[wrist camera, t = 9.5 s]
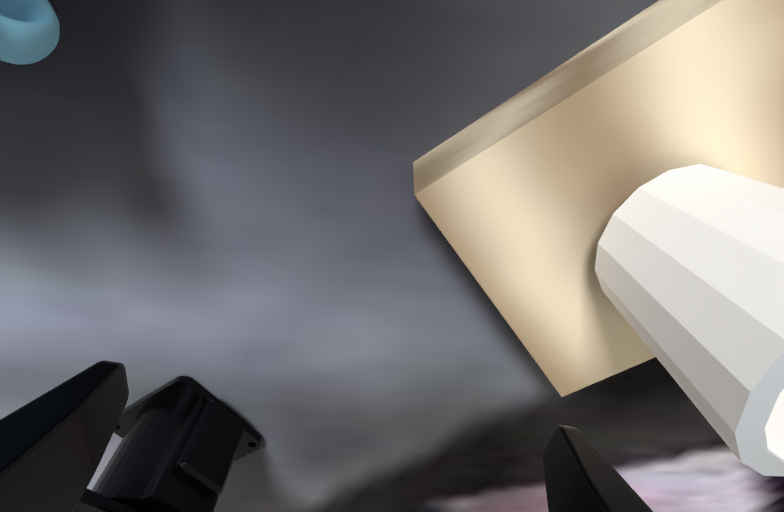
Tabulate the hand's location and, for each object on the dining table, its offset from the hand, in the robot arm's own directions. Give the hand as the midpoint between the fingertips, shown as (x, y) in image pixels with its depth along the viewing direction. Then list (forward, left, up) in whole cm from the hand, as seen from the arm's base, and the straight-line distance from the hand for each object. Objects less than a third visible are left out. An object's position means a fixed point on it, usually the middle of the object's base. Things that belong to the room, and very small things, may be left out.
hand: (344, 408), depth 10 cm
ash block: (+8, -6, -13) cm, 16 cm away
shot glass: (+8, -6, -8) cm, 13 cm away
